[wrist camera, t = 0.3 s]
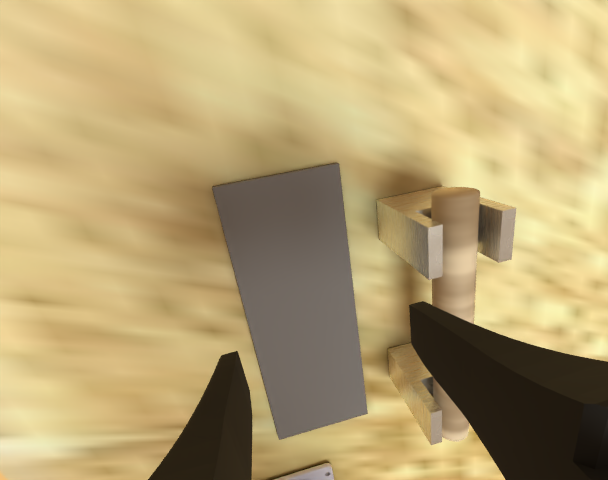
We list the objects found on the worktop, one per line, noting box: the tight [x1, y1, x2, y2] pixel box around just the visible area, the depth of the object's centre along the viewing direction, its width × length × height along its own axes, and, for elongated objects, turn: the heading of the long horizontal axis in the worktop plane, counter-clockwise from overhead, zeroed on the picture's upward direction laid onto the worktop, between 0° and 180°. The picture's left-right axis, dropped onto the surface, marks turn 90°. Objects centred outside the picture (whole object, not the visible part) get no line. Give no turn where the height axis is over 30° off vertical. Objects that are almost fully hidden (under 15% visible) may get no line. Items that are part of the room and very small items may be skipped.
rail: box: [431, 187, 480, 441], centre depth 21 cm, size 18×2×2 cm, turn 9°
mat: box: [212, 163, 368, 440], centre depth 24 cm, size 22×8×1 cm, turn 9°
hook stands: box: [376, 186, 516, 445], centre depth 22 cm, size 16×5×6 cm, turn 9°
